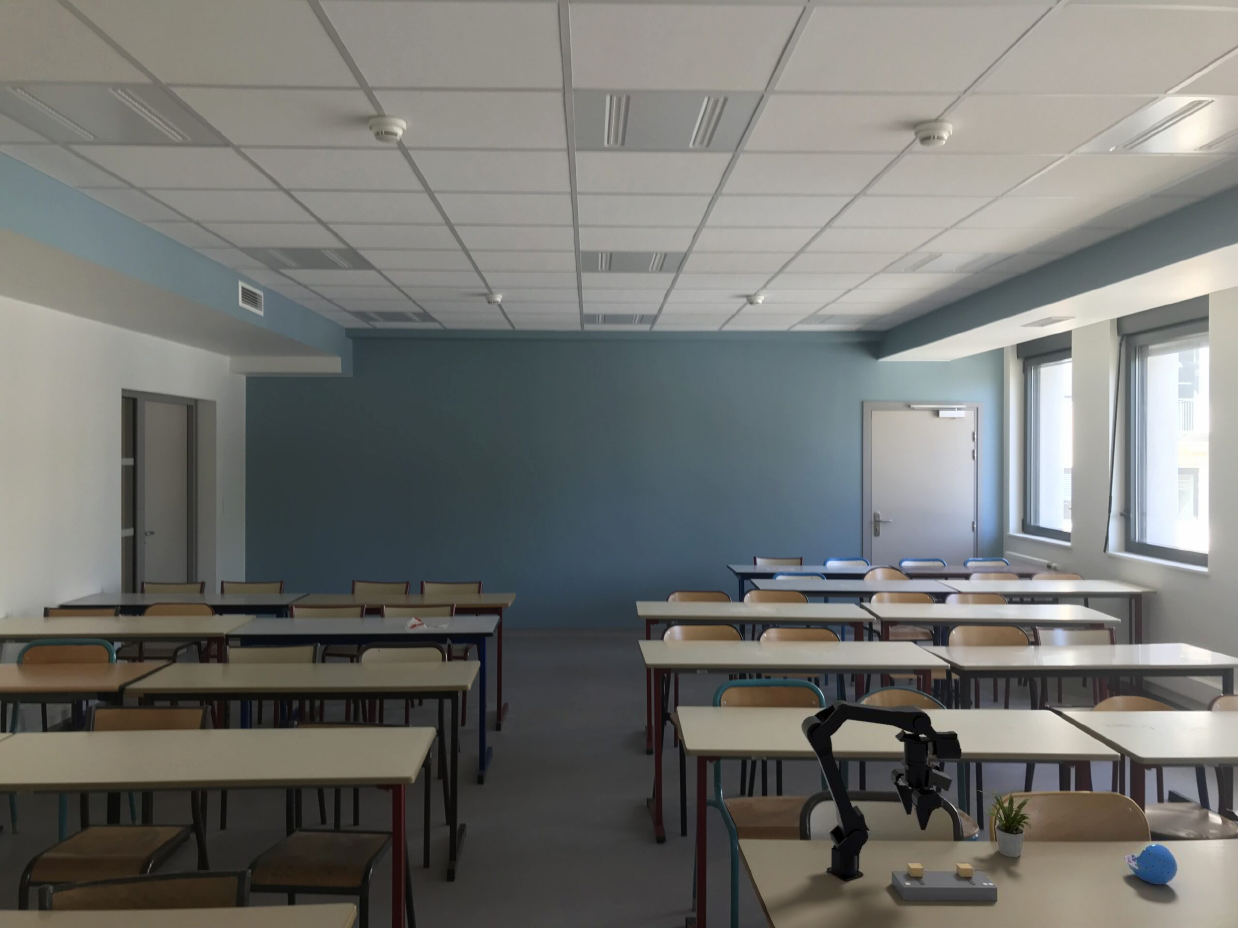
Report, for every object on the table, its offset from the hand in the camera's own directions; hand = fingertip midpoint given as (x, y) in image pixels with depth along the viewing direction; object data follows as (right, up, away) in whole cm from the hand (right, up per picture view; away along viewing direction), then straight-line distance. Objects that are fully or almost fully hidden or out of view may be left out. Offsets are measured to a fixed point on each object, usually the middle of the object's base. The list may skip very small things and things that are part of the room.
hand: (915, 821), depth 201 cm
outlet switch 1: (-3, -10, -7) cm, 12 cm away
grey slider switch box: (+3, -13, -9) cm, 16 cm away
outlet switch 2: (+9, -10, -6) cm, 15 cm away
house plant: (+28, -14, +13) cm, 34 cm away
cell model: (+57, -14, -2) cm, 59 cm away
